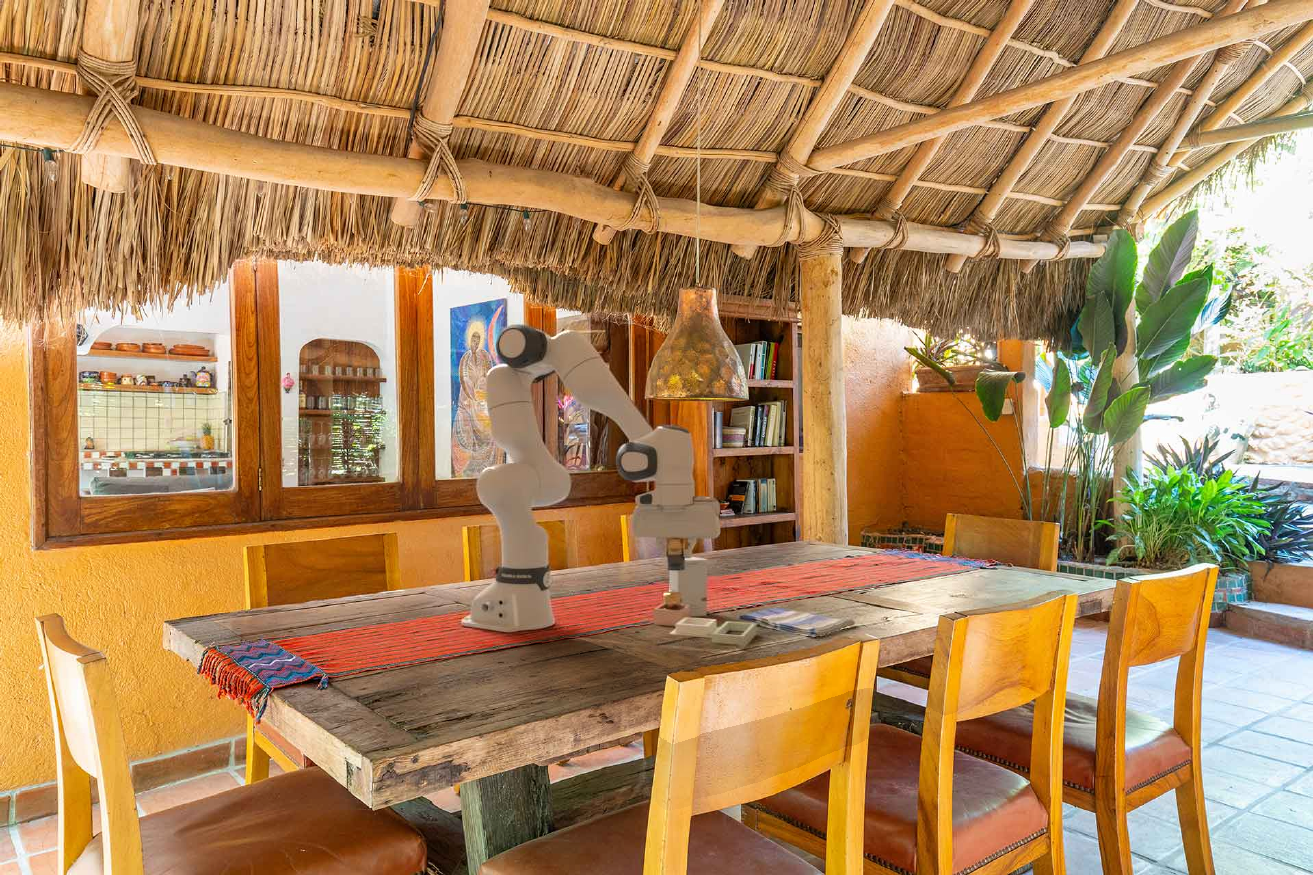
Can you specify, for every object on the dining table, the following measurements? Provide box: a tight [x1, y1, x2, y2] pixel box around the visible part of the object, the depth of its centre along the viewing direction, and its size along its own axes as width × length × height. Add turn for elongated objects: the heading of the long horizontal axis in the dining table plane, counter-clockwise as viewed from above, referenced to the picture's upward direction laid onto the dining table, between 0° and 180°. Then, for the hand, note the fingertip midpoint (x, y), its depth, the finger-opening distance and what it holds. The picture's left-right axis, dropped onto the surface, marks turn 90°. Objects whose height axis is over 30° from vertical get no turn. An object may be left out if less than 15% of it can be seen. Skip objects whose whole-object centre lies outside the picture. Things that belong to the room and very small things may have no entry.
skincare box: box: [668, 556, 708, 618], centre depth 217 cm, size 8×6×15 cm
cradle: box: [669, 617, 720, 639], centre depth 199 cm, size 10×9×3 cm
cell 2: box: [663, 589, 680, 610], centre depth 208 cm, size 4×4×8 cm
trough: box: [711, 620, 757, 649], centre depth 194 cm, size 7×13×3 cm, turn 161°
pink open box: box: [653, 602, 691, 627], centre depth 208 cm, size 7×7×4 cm
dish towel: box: [738, 607, 856, 639], centre depth 209 cm, size 17×24×3 cm
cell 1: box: [666, 538, 686, 571], centre depth 196 cm, size 4×4×8 cm
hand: (676, 557), depth 196 cm, fingers closed on cell 1, 4 cm apart
